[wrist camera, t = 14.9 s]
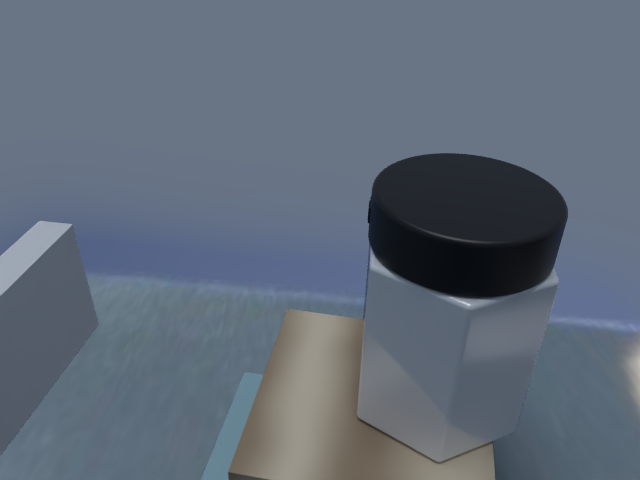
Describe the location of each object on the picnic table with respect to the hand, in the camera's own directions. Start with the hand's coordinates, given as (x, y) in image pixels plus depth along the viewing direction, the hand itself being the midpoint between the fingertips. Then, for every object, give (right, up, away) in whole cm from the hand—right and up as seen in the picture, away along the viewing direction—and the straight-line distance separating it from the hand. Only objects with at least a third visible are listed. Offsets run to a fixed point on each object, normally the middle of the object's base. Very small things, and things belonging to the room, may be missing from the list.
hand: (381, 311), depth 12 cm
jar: (+5, -7, +20) cm, 22 cm away
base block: (+1, -12, +23) cm, 26 cm away
